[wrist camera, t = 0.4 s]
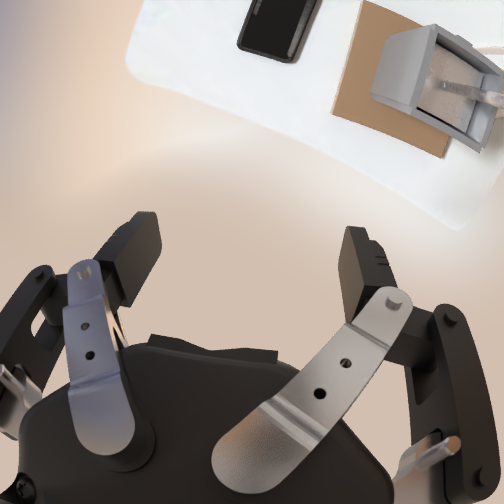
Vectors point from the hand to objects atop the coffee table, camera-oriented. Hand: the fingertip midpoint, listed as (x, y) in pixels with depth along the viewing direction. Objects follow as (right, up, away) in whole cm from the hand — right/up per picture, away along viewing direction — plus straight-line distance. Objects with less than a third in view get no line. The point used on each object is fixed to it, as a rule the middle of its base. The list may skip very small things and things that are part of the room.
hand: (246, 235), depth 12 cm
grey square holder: (+22, +23, +18) cm, 37 cm away
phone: (+4, +31, +16) cm, 35 cm away
